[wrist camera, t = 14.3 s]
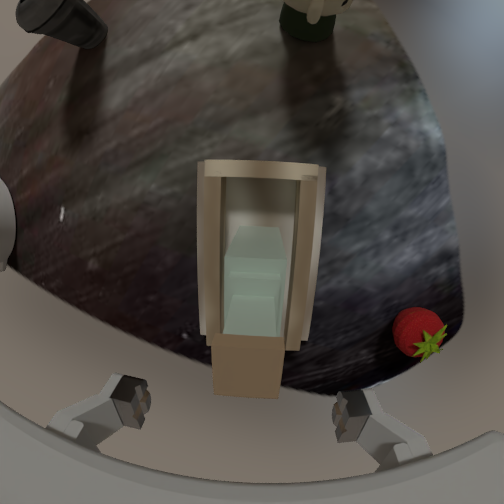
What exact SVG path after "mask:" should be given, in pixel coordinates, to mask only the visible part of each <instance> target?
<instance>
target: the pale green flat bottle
mask: <svg viewBox="0 0 504 504" xmlns="http://www.w3.org/2000/svg"><path fill="white" fill-rule="evenodd" d="M286 267H287V258H286V254H285V250H284V246H283V242H282V238H281V234H280V230H279V227H261V226H239V228H238V230H237V232H236V234H235V236H234V238H233V240H232V242H231V244H230V246H229V248H228V250H227V252H226V254H225V256H224V331H223V334H221V333H215V335H214V338H213V341H212V344H211V350H212V370H213V388H214V394H215V395H223V396H234V397H248V398H268V399H278V396H279V390H280V383H281V376H282V369H283V361H284V354H285V344H284V337H280V330H281V320H282V310H283V300H284V289H285V278H286Z"/></svg>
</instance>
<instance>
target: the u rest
mask: <svg viewBox="0 0 504 504" xmlns="http://www.w3.org/2000/svg"><path fill="white" fill-rule="evenodd" d="M325 181H326V167H318V165H315V164H304V163H290V162H274V161H252V160H205V162H198V177H197V265H198V296H199V318H200V335H206V339H207V345H208V346H211V344H212V341H213V338H214V335H215V333H221V334H223V331H224V256H225V254H226V252H227V250H228V248H229V246H230V244H231V242H232V240H233V238H234V236H235V234H236V232H237V230H238V228H239V226H261V227H279V230H280V234H281V238H282V242H283V246H284V250H285V254H286V258H287V267H286V278H285V289H284V300H283V310H282V320H281V330H280V337H284V340H285V350H296V351H299V349H300V343H301V340H305V341H308V335H309V329H310V322H311V316H312V309H313V302H314V295H315V287H316V279H317V271H318V262H319V253H320V244H321V233H322V222H323V210H324V197H325Z"/></svg>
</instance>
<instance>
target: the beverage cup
mask: <svg viewBox="0 0 504 504" xmlns="http://www.w3.org/2000/svg"><path fill="white" fill-rule="evenodd" d="M16 20H17V23H18V24H19V26H20V27H21V28H23V29H24V30H25V31H26V32H28V33H35V34H44V35H47V36H50V37H53V38H56V39H59V40H62V41H65V42H68V43H70V44H73V45H76V46H78V47H82V48H85V49H91V48H93V47H95V46H97V45H98V44H99V43H100V42H101V41H102V40H103V39H104V38H105V36H106V34H107V31H108V27H107V25H106V24H105V23H104V22H103V20H102V19H101V18H100V17H99V16H98V15H97V14H96V13H95V12H94V10H93V9H92V8H91V7H90V6H89V5H88V4H87V3H86V2H85V1H84V0H20V1H19V3H18V6H17V9H16Z"/></svg>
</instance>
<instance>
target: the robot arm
mask: <svg viewBox="0 0 504 504" xmlns="http://www.w3.org/2000/svg"><path fill="white" fill-rule="evenodd" d="M15 234H16V221H15V212H14V206H13V202H12V198H11V195H10V193H9V190H8V188H7V186H6V185H5V183H4V182H3V181H2V180H1V178H0V271H1V272H2V271H5V269H6V265H7V259H8V257H9V255H10V254H11V252H12V249H13V246H14V242H15ZM147 387H148V385H147V381H146V380H144V379H140V378H136V377H131V376H127V375H123V374H119V373H113V374H112V376H111V377H110V379H109V380H108V382H107V383H106V385H105V386H104V388H103V389H102V391H101V392H100V394H99V395H97V394H96V395H93V396H91V397H89V398H87V399H85V400H82V401H80V402H78V403H76V404H74V405H71V406H69V407H67V408H64V409H62V410H60V411H57V413H56V414H55V415H54V417H53V418H52V420H51V421H50V422H49V424H48V425H47V427H46V428H43V427H41V426H40V425H38V424H36V423H34V422H33V421H31V420H29V419H27V418H26V417H24V416H22V415H21V414H19V413H18V412H16V411H14V410H13V409H11V408H10V407H8V406H7V405H5V404H4V403H2V402H1V401H0V504H504V434H502V433H501V432H498V431H495V430H492V431H489V432H486V433H484V434H482V435H480V436H478V437H477V438H474V439H472V440H470V441H468V442H466V443H464V444H461V445H459V446H457V447H454V448H452V449H449V450H447V451H444V452H442V453H439V454H437V455H434V456H433V454H432V452H431V450H430V447H429V446H428V443H427V441H426V439H425V437H424V436H423V435H421V434H420V433H418V432H416V431H415V430H413V429H411V428H410V427H408V426H407V425H405V424H404V423H402V422H400V421H399V420H397V419H396V418H394V417H393V416H391V415H390V414H388V413H384V412H383V410H382V407H381V406H380V403H379V401H378V398H377V396H376V394H375V392H374V390H373V389H372V388H368V389H361V390H360V389H359V390H349V391H339V392H338V394H337V397H336V398H337V402H336V403H335V404H334V406H333V409H332V420H333V424H334V425H335V426H337V428H336V430H335V433H336V437H337V441H338V443H341V442H351V441H356V442H357V443H358V444H359V445H360V446H361V447H362V448H363V449H364V450H365V451H366V452H367V453H368V454H370V455H371V456H372V457H373V458H374V459H375V460H376V461H377V462H378V463H379V464H380V466H379V467H378V468H377V470H376V471H375V472H374V473H369V474H364V475H359V476H353V477H347V478H340V479H333V480H326V481H315V482H300V483H242V482H229V481H217V480H209V479H202V478H195V477H188V476H183V475H178V474H173V473H167V472H163V471H159V470H154V469H150V468H146V467H143V466H139V465H135V464H132V463H129V462H125V461H122V460H119V459H116V458H113V457H110V456H107V455H104V454H102V453H101V452H100V451H99V449H98V448H97V446H96V445H97V444H99V443H100V442H102V441H103V440H105V439H106V438H108V437H109V436H111V435H112V434H113V433H115V432H116V431H118V430H119V429H120V428H122V427H123V425H124V426H128V427H132V428H136V429H141V427H142V425H143V423H144V421H145V417H144V414H146V413H147V412H148V411H149V409H150V405H151V396H150V393H149V392H148V391H147V390H146V389H147Z"/></svg>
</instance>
